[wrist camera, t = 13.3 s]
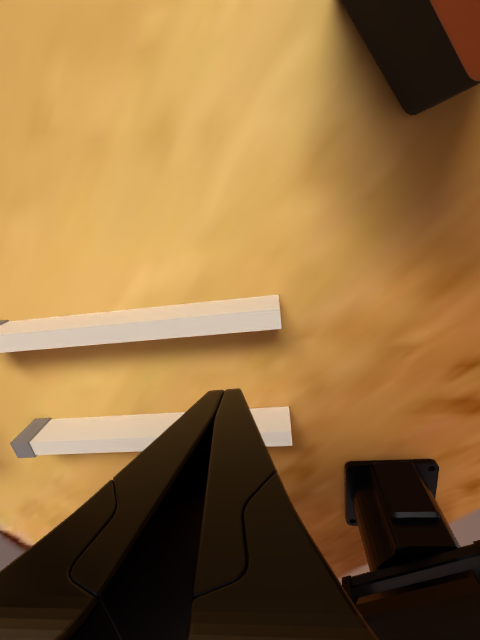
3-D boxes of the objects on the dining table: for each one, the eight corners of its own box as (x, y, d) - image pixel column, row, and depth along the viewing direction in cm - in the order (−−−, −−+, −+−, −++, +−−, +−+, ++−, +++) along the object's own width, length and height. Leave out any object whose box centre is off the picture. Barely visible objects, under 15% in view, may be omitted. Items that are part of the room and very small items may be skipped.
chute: (290, 421, 23) (292, 448, 21) (41, 432, 26) (17, 457, 23) (278, 292, 19) (279, 307, 17) (-11, 321, 22) (-45, 338, 20)
